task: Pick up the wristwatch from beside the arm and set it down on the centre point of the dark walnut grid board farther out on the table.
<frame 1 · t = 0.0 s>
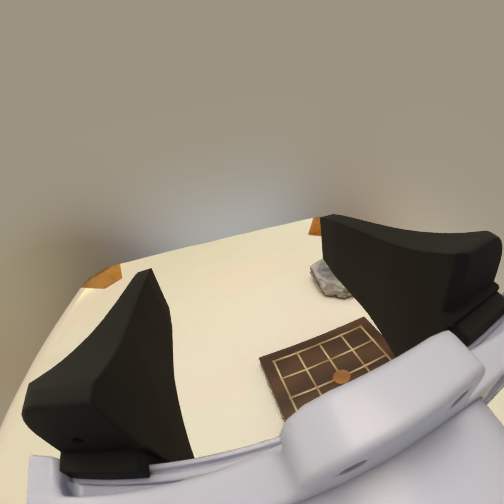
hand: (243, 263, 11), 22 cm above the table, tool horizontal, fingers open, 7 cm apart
board: (341, 383, 28), on the table
fossil: (339, 280, 46), on the table
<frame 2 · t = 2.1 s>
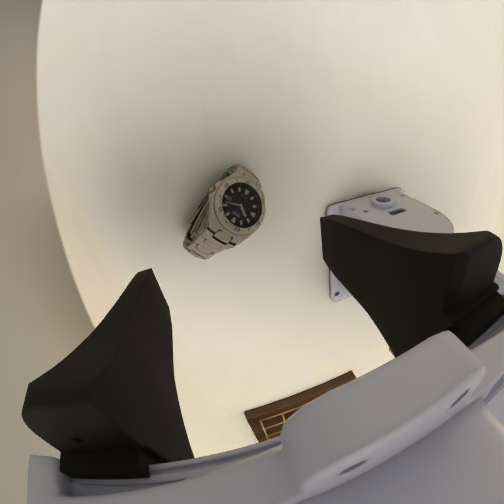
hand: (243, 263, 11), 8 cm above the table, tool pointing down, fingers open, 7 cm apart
board: (302, 415, 36), on the table
wristwatch: (213, 200, 19), on the table
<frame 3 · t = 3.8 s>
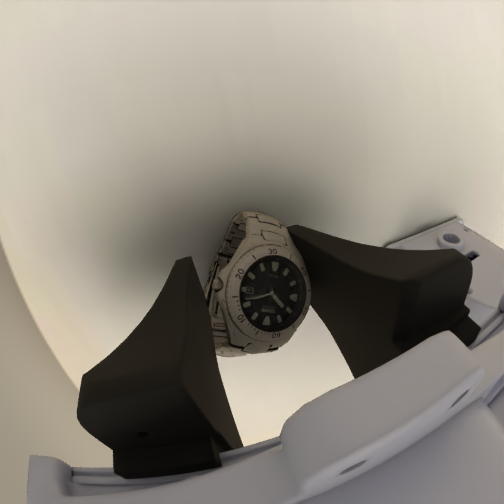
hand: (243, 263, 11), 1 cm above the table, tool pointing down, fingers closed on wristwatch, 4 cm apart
wristwatch: (226, 262, 13), on the table, touching gripper
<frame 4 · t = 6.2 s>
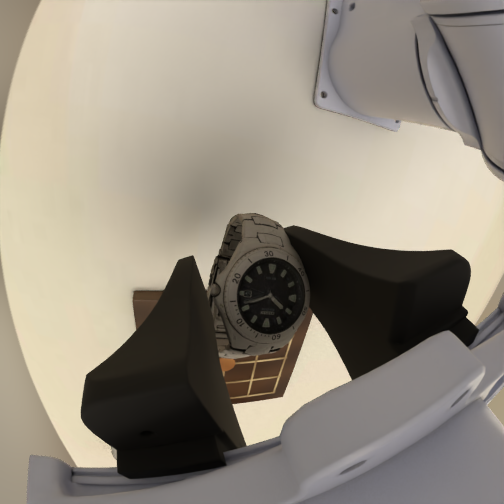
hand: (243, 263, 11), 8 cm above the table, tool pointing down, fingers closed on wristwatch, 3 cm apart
board: (222, 354, 25), on the table
wristwatch: (226, 264, 13), point 7 cm above the table, touching gripper
when the fingers open (3 cm above the table, at t = 9.1 s): wristwatch stays where it is, resting on board.
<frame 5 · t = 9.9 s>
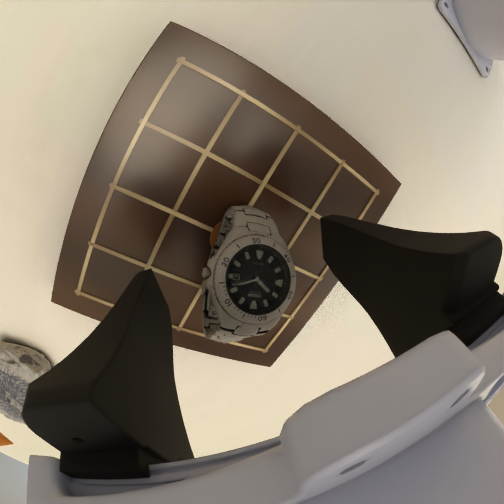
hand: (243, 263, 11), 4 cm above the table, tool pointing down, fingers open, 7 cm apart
board: (226, 228, 15), on the table
wristwatch: (222, 254, 14), point 1 cm above the table, touching board
fossil: (22, 377, 15), on the table
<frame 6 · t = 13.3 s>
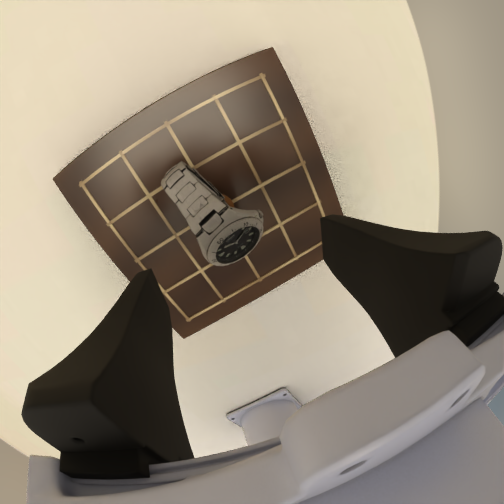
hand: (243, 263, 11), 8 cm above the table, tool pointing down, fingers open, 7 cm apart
board: (215, 203, 18), on the table
wristwatch: (208, 197, 16), point 1 cm above the table, touching board
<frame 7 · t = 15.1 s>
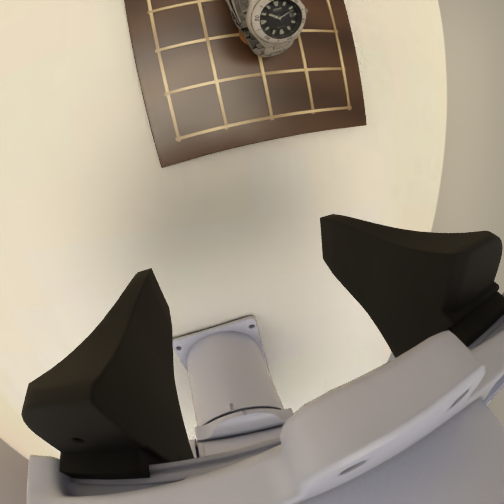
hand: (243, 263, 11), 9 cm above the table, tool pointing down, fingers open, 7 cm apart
board: (249, 37, 15), on the table
wristwatch: (249, 21, 13), point 1 cm above the table, touching board
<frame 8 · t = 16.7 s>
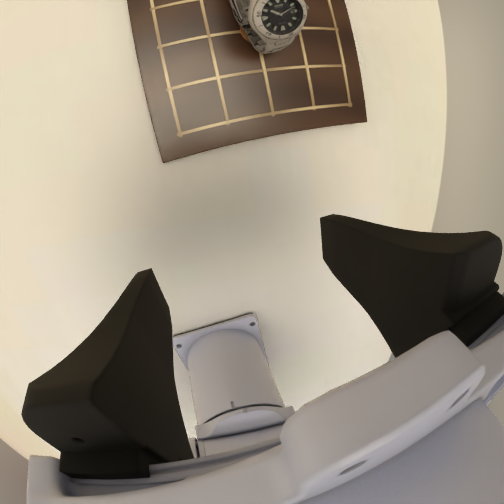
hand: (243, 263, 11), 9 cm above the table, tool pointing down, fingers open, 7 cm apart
board: (250, 34, 15), on the table
wristwatch: (250, 18, 13), point 1 cm above the table, touching board
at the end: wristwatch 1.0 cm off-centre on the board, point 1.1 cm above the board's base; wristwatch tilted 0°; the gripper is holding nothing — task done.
